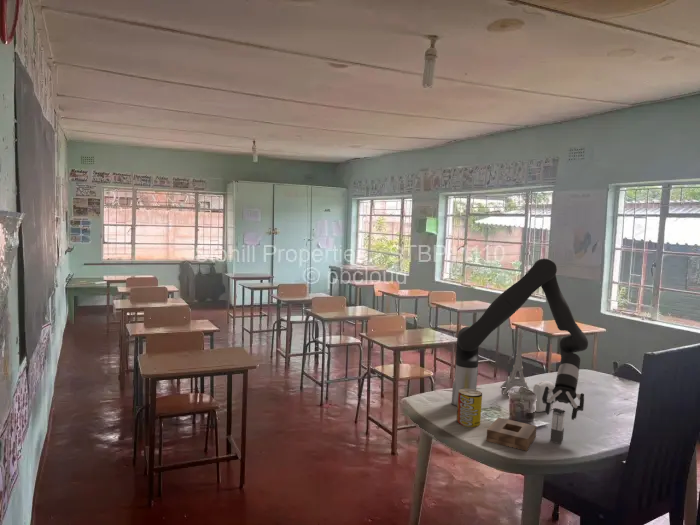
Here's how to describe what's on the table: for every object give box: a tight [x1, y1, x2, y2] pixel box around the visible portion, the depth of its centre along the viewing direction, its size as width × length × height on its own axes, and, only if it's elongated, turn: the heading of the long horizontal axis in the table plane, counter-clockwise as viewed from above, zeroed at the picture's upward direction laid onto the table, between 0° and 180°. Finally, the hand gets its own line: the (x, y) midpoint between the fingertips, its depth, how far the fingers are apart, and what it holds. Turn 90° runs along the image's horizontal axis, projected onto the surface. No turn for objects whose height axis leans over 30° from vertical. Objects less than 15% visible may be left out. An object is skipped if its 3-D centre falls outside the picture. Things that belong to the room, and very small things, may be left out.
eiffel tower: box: [501, 328, 530, 394], centre depth 245 cm, size 13×13×30 cm
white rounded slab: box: [532, 380, 555, 413], centre depth 223 cm, size 10×4×12 cm, turn 123°
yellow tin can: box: [456, 389, 483, 428], centre depth 204 cm, size 9×9×12 cm
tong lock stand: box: [485, 416, 538, 452], centre depth 190 cm, size 14×15×4 cm
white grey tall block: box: [550, 408, 566, 445], centre depth 190 cm, size 4×4×11 cm
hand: (560, 416), depth 192 cm, fingers open, 8 cm apart
